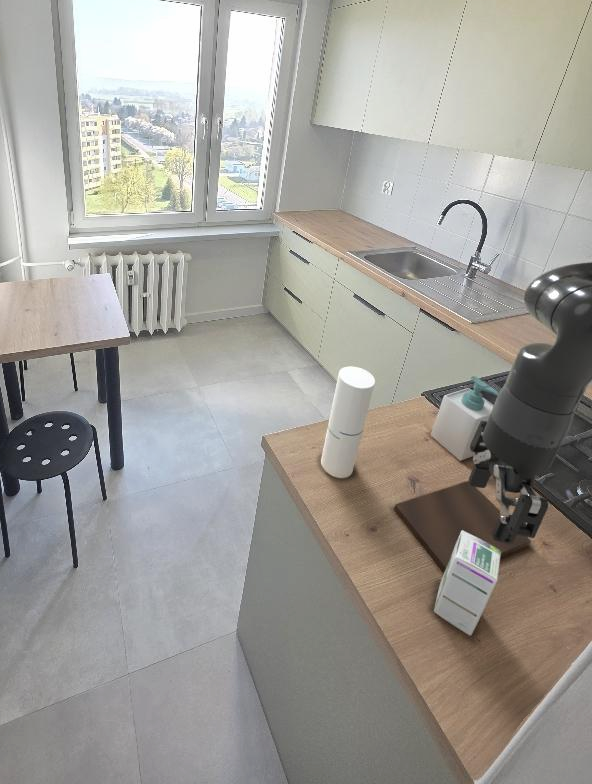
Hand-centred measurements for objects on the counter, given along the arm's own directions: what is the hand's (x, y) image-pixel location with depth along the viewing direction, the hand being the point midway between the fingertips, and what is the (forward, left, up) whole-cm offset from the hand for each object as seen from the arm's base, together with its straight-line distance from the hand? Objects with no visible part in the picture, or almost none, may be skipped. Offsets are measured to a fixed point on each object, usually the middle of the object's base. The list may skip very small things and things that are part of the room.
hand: (487, 510), depth 59 cm
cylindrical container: (-1, -31, -25) cm, 40 cm away
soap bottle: (-34, -28, -25) cm, 50 cm away
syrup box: (-3, 0, -25) cm, 25 cm away
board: (-16, -11, -25) cm, 31 cm away
